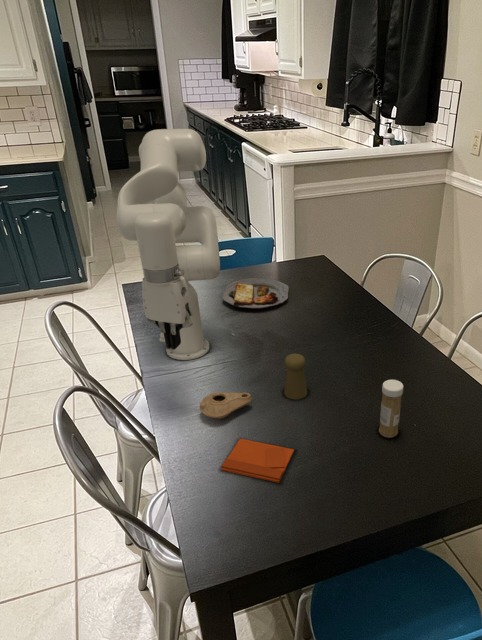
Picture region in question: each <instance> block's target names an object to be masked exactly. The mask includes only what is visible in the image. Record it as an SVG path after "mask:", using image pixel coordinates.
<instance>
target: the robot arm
mask: <svg viewBox="0 0 482 640" xmlns="http://www.w3.org/2000/svg"><path fill="white" fill-rule="evenodd" d="M206 152H207V151H206V147H205V144H204V142H203V139H202V137H201V135H200V134H199V132H197V131H196V130H194V129H192V128H161V129H160V128H159V129H153V130H150V131H148V132H146V133H145V134H144V136H143V138H142V140H141V143H140V144H139V147H138V155H139V160H140V171H138V172H137V173H136V174H134V175H133V176H132V177H131V178H130V179H129V180H127V181H126V182H125V184H124V185H123V186H122V187H121V188H120V190H119V193H118V196H117V203H116V204H117V205H116V227H117V230H118V232H119V234H120V235H121V236H122V238H123V239H125V240H127V241H133V242H134V241H136V242H137V247H138V252H139V257H140V263H141V269H142V274H143V278H142V282H141V296H142V305H143V310H144V314H145V317H146V321H148V322H149V323H151V324H154V325H155V326H157V327H158V328H159V331H160V334H159V342H160V343H165V345H166V348H165V351H166V354H167V356H168V357H170V358H172V359H174V360H179V361H189V360H195V359H198V358H200V357H202V356H205V354H207V353H208V352H209V351H210V348H211V347H210V346H211V345H210V342H209V341H208V340H207V339H206V338H205V337H204V333H203V327H202V326H203V325H202V318H201V311H200V302H199V296H198V293H197V290H196V289H195V287H194V286H193V285H192V284H191V283H190V282H193V281H195V282H196V281H209V280H215V279H217V278H218V277H219V275H220V273H221V257H220V256H221V255H220V246H219V237H218V236H219V235H218V227H217V220H216V216H215V214H214V211H213V210H212V209H211V208H210V207H207V206H202V205H201V206H199V205H198V206H197V205H196V206H188V199H187V191H186V189H185V188H184V187H183V186H182V184H181V183H180V182H179V173H181V172H199V171H202V170H203V169H204V168H205V166H206V162H207V153H206ZM152 201H154V203H149V202H152ZM193 243H199V244H193ZM176 244H180V245H176ZM181 244H182V245H181Z"/></svg>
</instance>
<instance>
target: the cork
mask: <svg viewBox="0 0 482 640" xmlns="http://www.w3.org/2000/svg"><path fill="white" fill-rule="evenodd" d="M284 366H285V368H286V376H285V383H284V391H283V395H284V396H285V397H286V398H287V399H290V400H301V399H303V398H305V397H306V396H307V394H308V387H307V382H306V381H307V380H306V376H305V370H304V369H305V367H306V359H305V357H304V356H303V355H302V354H300V353H291V354H288V355H287V356H286V357H285V359H284Z"/></svg>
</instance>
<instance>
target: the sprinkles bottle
mask: <svg viewBox="0 0 482 640" xmlns="http://www.w3.org/2000/svg"><path fill="white" fill-rule="evenodd" d="M381 393H382V396H381V397H382V398H381V402H380V403H381V404H380V413H379V428H378V433H379V434H380V435H381V436H382V437H384V438H388V439H389V438H391V439H392V438H395V437H396V436H397V435H398V434H399V425H400V424H399V423H400V416H401V415H400V414H401V408H402V407H401V405H402V395H403V394H404V384H403V383H402V381H399V380H398V379H387V380H385V381H384V382H383V383H382V386H381Z"/></svg>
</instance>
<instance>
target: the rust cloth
mask: <svg viewBox="0 0 482 640" xmlns="http://www.w3.org/2000/svg"><path fill="white" fill-rule="evenodd" d="M294 453H295V449H294V448H289V447H284V446H280V445H274V444H269V443H264V442H259V441H254V440H249V439H244V438H239V439H238V441H237V442H236V444H235V445H234V447H233V449H232V451H231V452H230V454H229V455H228V457H227V458H225V459H224V461H223V463H222V464H221V468H220V469H221V471H222V472H223V471H224V472H228V473H232V474H235V475H236V474H237V475H241V476H246V477H249V478H255V479H259V480H264V481H269V482H273V483H277V484H280V483H281V479H282V478H283V476H284V474H285V472H286V470H287V467H288V466H289V463H290V461H291V459H292V457H293V454H294Z"/></svg>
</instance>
